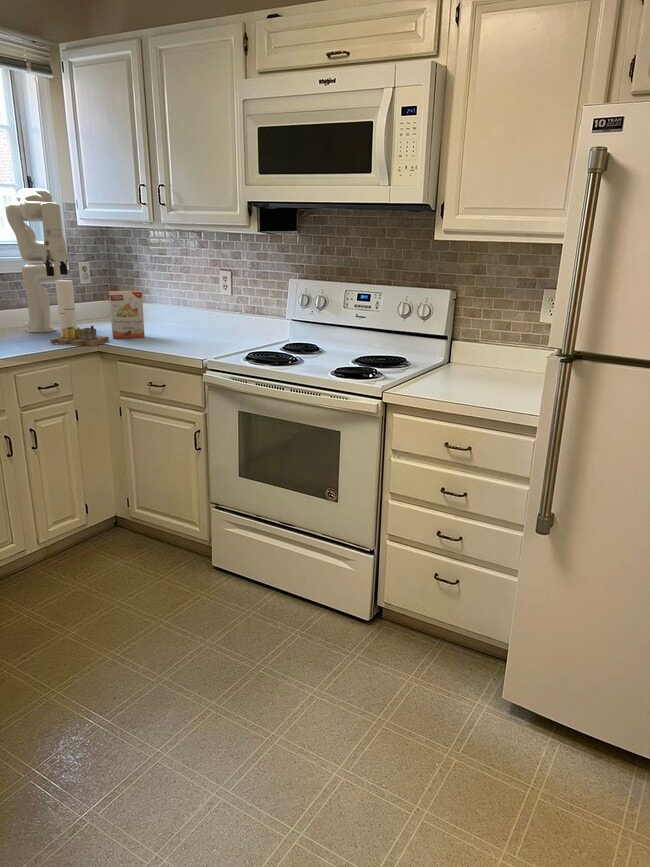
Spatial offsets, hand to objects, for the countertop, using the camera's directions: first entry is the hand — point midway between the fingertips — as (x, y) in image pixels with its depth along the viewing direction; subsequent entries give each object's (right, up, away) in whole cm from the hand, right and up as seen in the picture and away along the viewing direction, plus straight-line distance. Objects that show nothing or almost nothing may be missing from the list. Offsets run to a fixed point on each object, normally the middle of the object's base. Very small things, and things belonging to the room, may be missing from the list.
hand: (57, 275), depth 277 cm
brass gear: (+4, -26, +5) cm, 27 cm away
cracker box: (+24, -24, +20) cm, 40 cm away
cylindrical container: (-3, -23, +21) cm, 31 cm away
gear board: (+8, -28, +5) cm, 30 cm away
